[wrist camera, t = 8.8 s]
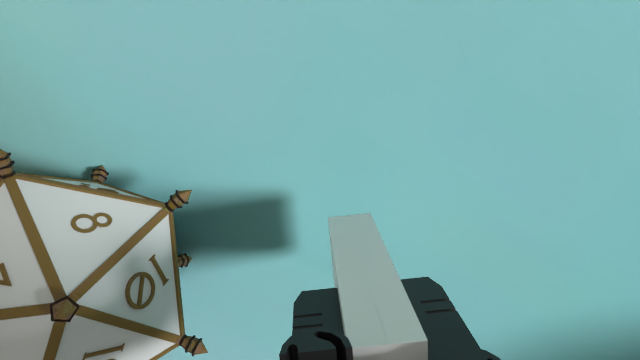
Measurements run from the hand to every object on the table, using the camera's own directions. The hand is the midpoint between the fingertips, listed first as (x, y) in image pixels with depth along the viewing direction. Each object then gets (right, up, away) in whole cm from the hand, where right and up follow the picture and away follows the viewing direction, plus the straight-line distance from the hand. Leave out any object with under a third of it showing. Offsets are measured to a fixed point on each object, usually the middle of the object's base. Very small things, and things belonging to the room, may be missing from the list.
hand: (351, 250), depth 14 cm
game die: (-9, 0, +3) cm, 10 cm away
